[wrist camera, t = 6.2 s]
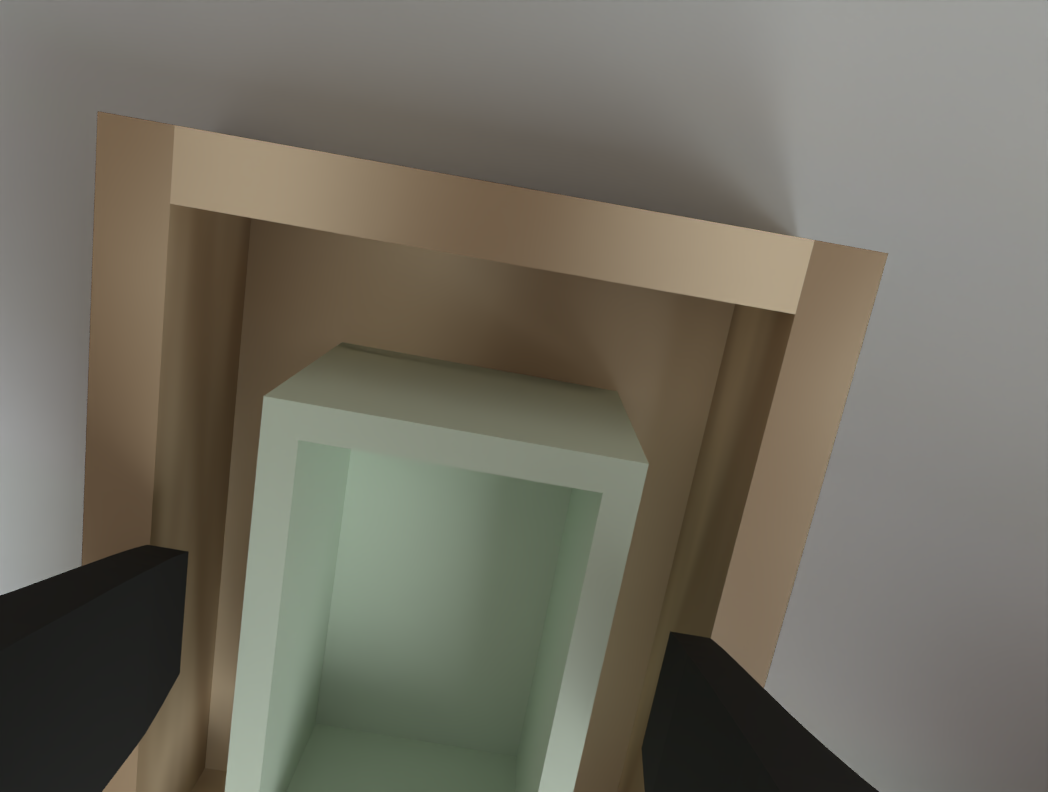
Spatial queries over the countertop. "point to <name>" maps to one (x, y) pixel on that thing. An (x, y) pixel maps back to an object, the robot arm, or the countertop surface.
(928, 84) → the countertop surface
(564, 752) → the sage crate
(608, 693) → the box
